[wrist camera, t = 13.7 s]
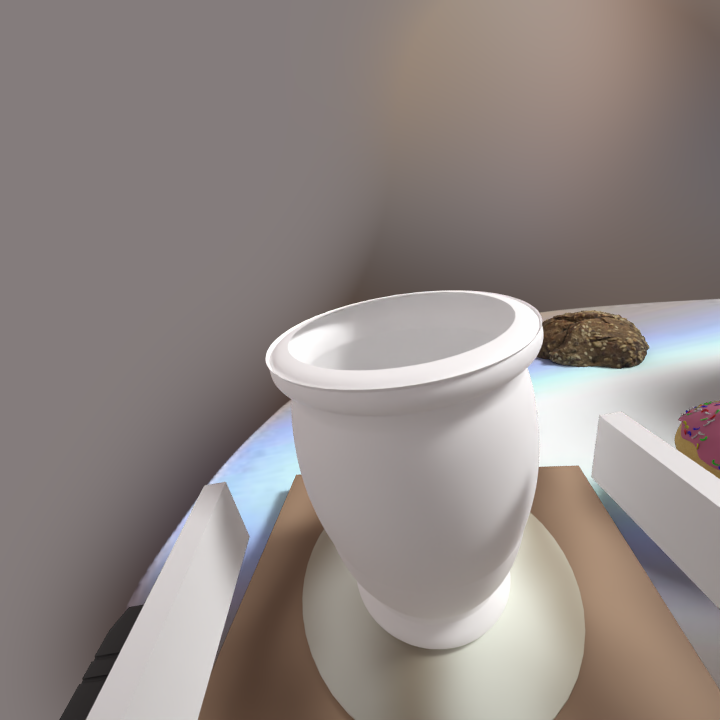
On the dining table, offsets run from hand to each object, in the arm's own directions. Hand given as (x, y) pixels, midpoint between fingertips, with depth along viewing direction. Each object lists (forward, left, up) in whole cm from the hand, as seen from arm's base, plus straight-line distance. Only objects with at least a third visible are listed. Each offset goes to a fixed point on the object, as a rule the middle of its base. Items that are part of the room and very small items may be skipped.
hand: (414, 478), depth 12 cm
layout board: (+2, -3, -12) cm, 13 cm away
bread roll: (+4, -41, -13) cm, 43 cm away
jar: (+2, -3, -10) cm, 11 cm away
